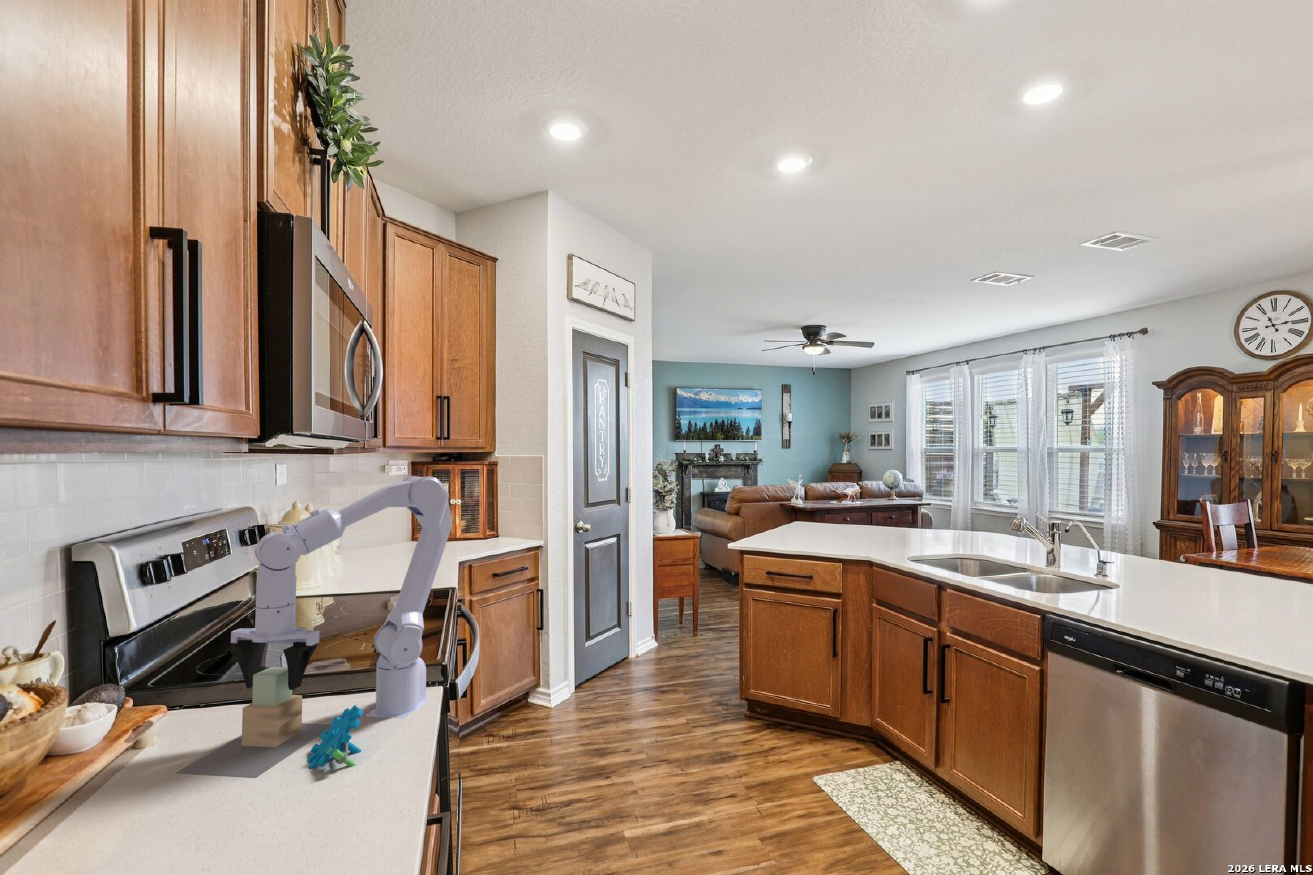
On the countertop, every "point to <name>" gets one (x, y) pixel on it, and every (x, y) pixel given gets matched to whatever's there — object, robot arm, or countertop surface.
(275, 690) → the green block
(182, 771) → the mat
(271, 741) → the base slab
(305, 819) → the countertop surface
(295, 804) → the countertop surface
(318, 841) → the countertop surface
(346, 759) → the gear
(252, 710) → the top slab
